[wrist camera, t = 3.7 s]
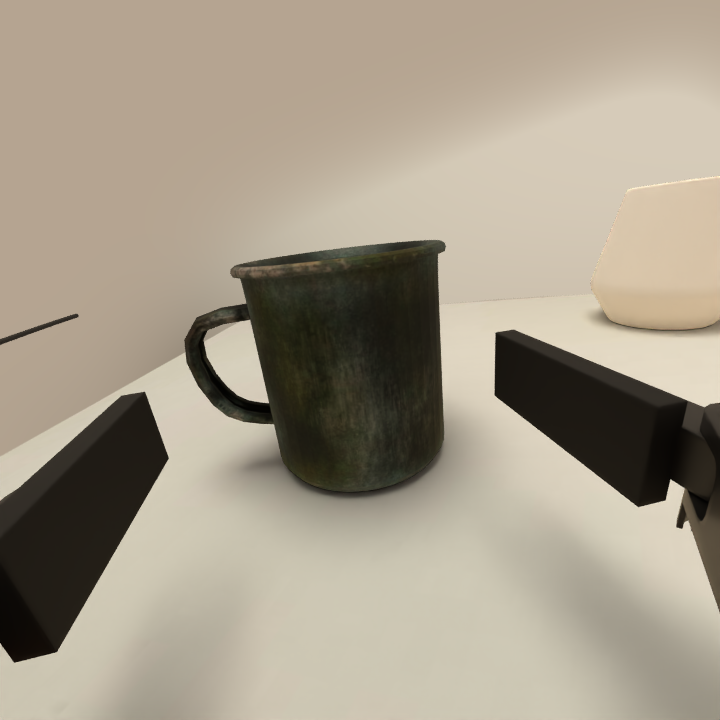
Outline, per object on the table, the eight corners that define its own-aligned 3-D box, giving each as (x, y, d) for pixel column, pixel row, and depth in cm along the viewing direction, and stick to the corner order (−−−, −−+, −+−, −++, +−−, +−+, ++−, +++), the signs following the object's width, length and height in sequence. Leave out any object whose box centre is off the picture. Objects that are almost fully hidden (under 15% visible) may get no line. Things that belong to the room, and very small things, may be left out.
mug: (485, 479, 18) (487, 239, 14) (199, 540, 17) (109, 289, 13) (419, 394, 29) (409, 239, 24) (236, 427, 27) (193, 266, 23)
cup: (648, 300, 47) (668, 185, 42) (782, 321, 34) (831, 161, 30) (560, 315, 45) (571, 196, 40) (669, 344, 32) (702, 176, 28)
